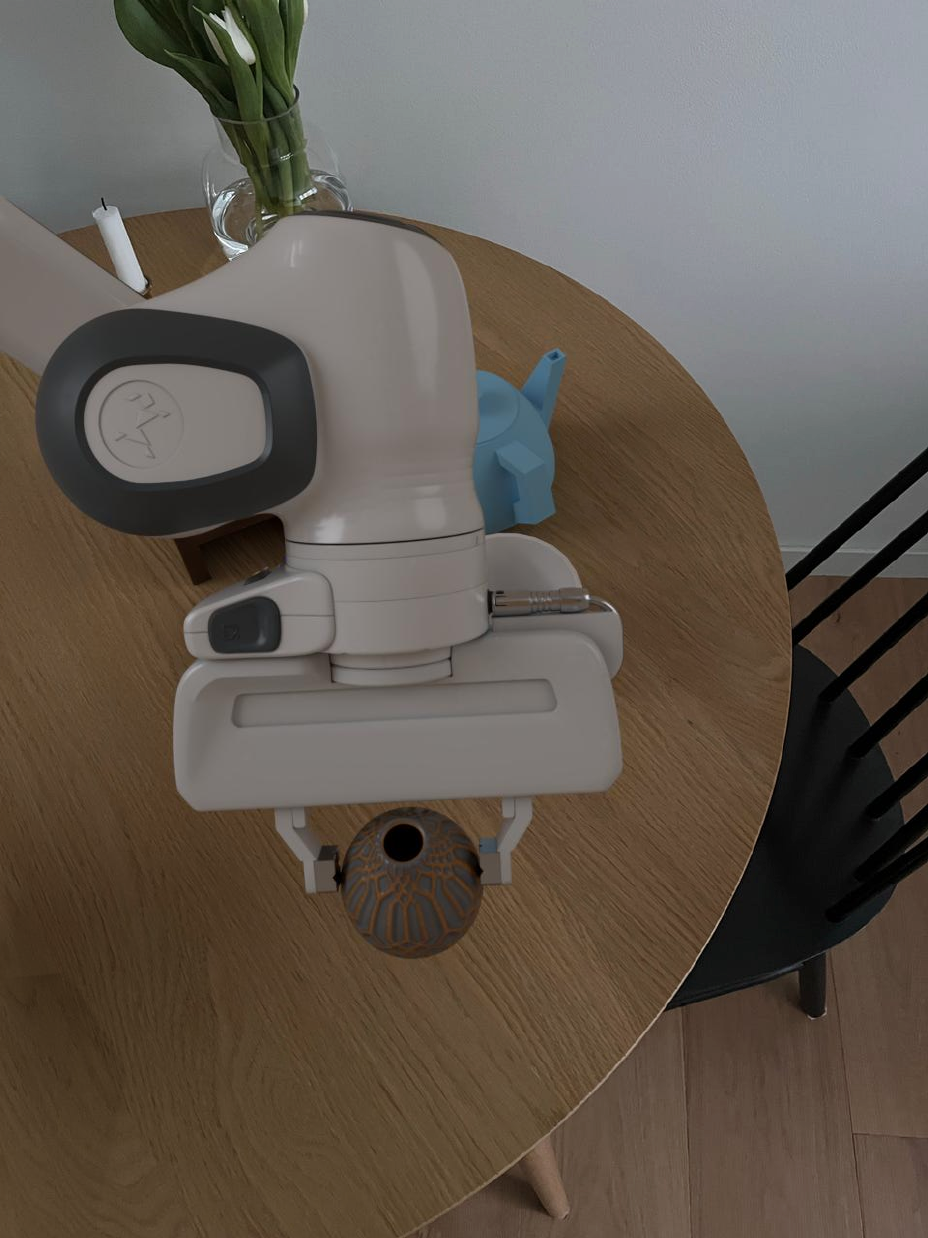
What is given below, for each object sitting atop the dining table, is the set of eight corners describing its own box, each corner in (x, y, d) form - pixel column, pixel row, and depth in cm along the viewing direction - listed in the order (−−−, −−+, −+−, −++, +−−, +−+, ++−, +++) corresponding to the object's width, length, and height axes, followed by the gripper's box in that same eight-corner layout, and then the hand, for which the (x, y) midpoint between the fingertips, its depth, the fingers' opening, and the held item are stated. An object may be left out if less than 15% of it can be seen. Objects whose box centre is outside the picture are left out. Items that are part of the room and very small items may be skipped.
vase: (357, 841, 57) (334, 769, 49) (486, 844, 56) (482, 772, 49) (344, 973, 53) (317, 916, 45) (483, 976, 52) (478, 920, 45)
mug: (407, 663, 79) (397, 602, 72) (496, 574, 83) (494, 508, 77) (550, 766, 74) (554, 710, 67) (637, 665, 78) (649, 603, 71)
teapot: (363, 551, 85) (345, 460, 76) (389, 415, 93) (375, 318, 84) (554, 561, 84) (558, 469, 75) (563, 422, 92) (568, 325, 83)
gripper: (613, 573, 50) (620, 847, 53) (184, 595, 51) (213, 866, 53) (633, 596, 44) (639, 905, 47) (145, 621, 44) (179, 926, 47)
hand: (409, 884), depth 50 cm, fingers closed on vase, 7 cm apart
